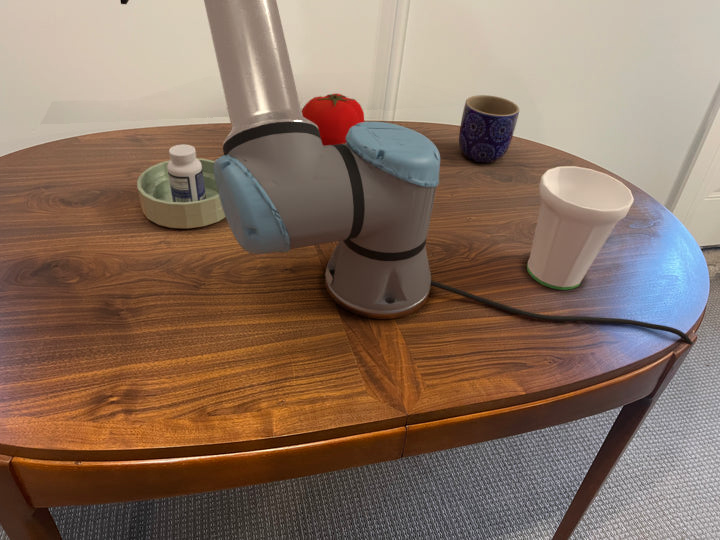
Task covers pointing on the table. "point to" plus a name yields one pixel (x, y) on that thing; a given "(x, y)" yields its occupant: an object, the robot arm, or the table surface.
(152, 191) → the bowl
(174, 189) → the pill bottle
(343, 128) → the tomato
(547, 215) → the cup
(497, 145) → the planter
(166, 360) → the table surface
